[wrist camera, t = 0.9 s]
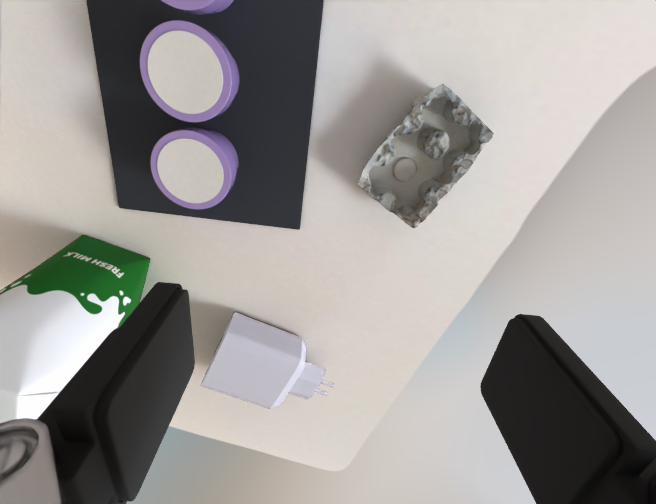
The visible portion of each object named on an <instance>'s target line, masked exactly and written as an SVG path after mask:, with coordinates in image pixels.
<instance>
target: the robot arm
mask: <svg viewBox="0 0 656 504" xmlns="http://www.w3.org/2000/svg"><path fill="white" fill-rule="evenodd" d="M194 363H195V359H194V348H193V337H192V327H191V316H190V305H189V294H188V291H187V290H182V286H181V285H180V284H174V283H163V282H158V283H157V284H155V285H154V287H153V288H152V289H151V290H150V291H149V293H148V294H147V295H146V296H145V298H144V299H143V300H142V301H141V302H140V304H139V305H138V306H137V307H136V308H135V310H134V311H133V312H132V313H131V314H130V316H129V317H128V318H127V319H126V320H125V322H124V323H123V324H122V325H121V326H120V328H116V329H114V330H113V331H112V332H111V333H110V334H109V335H108V336H107V337H106V339H105V340H104V341H103V342H102V343H101V344H100V346H99V347H98V348H97V349H96V350H95V351H94V353H93V354H92V355H91V356H90V357H89V359H88V360H87V361H86V362H85V363H84V364H83V366H82V367H81V368H80V369H79V370H78V371H77V373H76V374H75V375H74V376H73V377H72V379H71V380H70V381H69V382H68V383H67V384H66V386H65V387H64V388H63V389H62V390H61V391H60V393H59V394H58V395H57V396H56V397H55V399H54V400H53V401H52V402H51V403H50V404H49V406H48V407H47V408H46V409H45V410H44V411H43V413H42V414H41V415H40V416H39V417H38V419H30V418H22V419H14V420H10V421H6V422H3V423H0V504H126V502H127V501H133V500H134V499H135V497H136V496H137V494H138V492H139V490H140V488H141V486H142V483H143V481H144V479H145V477H146V474H147V473H148V470H149V468H150V466H151V464H152V462H153V459H154V457H155V455H156V453H157V450H158V448H159V446H160V444H161V442H162V439H163V437H164V435H165V433H166V430H167V428H168V426H169V424H170V422H171V420H172V417H173V415H174V413H175V411H176V408H177V406H178V404H179V402H180V400H181V397H182V395H183V393H184V391H185V389H186V386H187V384H188V382H189V380H190V377H191V375H192V373H193V369H194ZM481 393H482V396H483V397H484V400H485V402H486V404H487V406H488V408H489V410H490V411H491V414H492V416H493V418H494V420H495V422H496V424H497V426H498V428H499V430H500V432H501V434H502V436H503V438H504V440H505V442H506V444H507V446H508V448H509V450H510V452H511V454H512V456H513V458H514V460H515V462H516V464H517V466H518V468H519V470H520V472H521V474H522V476H523V478H524V480H525V482H526V484H527V486H528V488H529V490H530V492H531V494H532V496H533V497H534V500H535V502H536V504H656V441H655V440H654V439H653V438H652V436H651V435H650V434H649V433H648V432H647V431H646V430H645V429H644V428H643V427H642V425H641V424H640V423H639V422H638V421H637V420H636V419H635V418H634V417H633V416H632V415H631V414H630V413H629V412H628V410H627V409H626V408H625V407H624V406H623V405H622V404H621V403H620V402H619V400H617V398H616V397H615V396H614V395H613V394H612V393H611V392H610V391H609V390H608V389H607V387H606V386H605V385H604V384H603V383H602V382H601V381H600V380H599V379H598V378H597V377H596V375H595V374H594V373H593V372H592V371H591V370H590V369H589V368H588V367H587V366H586V365H585V363H584V362H583V361H582V360H581V359H580V358H579V357H578V356H577V355H576V354H575V353H574V351H572V349H571V348H570V347H569V346H568V345H567V344H566V343H565V342H564V341H563V340H562V338H561V337H560V336H559V335H558V334H557V333H556V332H555V331H554V330H553V329H552V328H551V327H550V325H549V324H548V323H547V322H546V321H545V320H544V319H543V318H542V317H540V316H533V315H522V314H519V315H517V316H515V318H514V319H511V320H510V321H509V322H508V324H507V327H506V329H505V331H504V333H503V335H502V338H501V340H500V342H499V344H498V346H497V349H496V351H495V353H494V355H493V358H492V360H491V362H490V364H489V367H488V369H487V371H486V373H485V375H484V378H483V380H482V382H481Z"/></svg>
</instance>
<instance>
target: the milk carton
mask: <svg viewBox="0 0 656 504" xmlns="http://www.w3.org/2000/svg"><path fill="white" fill-rule="evenodd" d="M149 262H150V258H147V257H145V256H142V255H139V254H136V253H133V252H131V251H128V250H125V249H122V248H119V247H117V246H114V245H111V244H108V243H105V242H103V241H100V240H97V239H94V238H91V237H89V236H86V235H82V236H80V237H79V238H78V239H76V240H75V241H73V242H72V243H70V244H69V245H68V246H66V247H65V248H63V249H62V250H60V251H59V252H57V253H56V254H55V255H53V256H52V257H50V258H49V259H47V260H46V261H45V262H43V263H42V264H40V265H39V266H37V267H36V268H34V269H33V270H31V271H30V272H28V273H27V274H25V275H23V276H22V277H20V278H19V279H17V280H16V281H14V282H13V283H11V284H10V285H8V286H6V287H5V288H3V289H2V290H0V423H3V422H6V421H10V420H14V419H22V418H30V419H38V417H39V416H40V415H41V414H42V413H43V411H44V410H45V409H46V408H47V407H48V406H49V404H50V403H51V402H52V401H53V400H54V399H55V397H56V396H57V395H58V394H59V393H60V391H61V390H62V389H63V388H64V387H65V386H66V384H67V383H68V382H69V381H70V380H71V379H72V377H73V376H74V375H75V374H76V373H77V371H78V370H79V369H80V368H81V367H82V366H83V364H84V363H85V362H86V361H87V360H88V359H89V357H90V356H91V355H92V354H93V353H94V351H95V350H96V349H97V348H98V347H99V346H100V344H101V343H102V342H103V341H104V340H105V339H106V337H107V336H108V335H109V334H110V333H111V332H112V331H113V330H114V329H116V328H120V326H121V325H122V324H123V323H124V322H125V320H126V319H127V318H128V317H129V316H130V314H131V313H132V312H133V311H134V310H135V308H136V307H137V306H138V305H139V304H140V299H141V295H142V291H143V287H144V283H145V279H146V275H147V271H148V267H149Z"/></svg>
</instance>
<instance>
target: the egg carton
mask: <svg viewBox="0 0 656 504" xmlns="http://www.w3.org/2000/svg"><path fill="white" fill-rule="evenodd" d="M412 106H413V109H412V111H411V112H410V113H409V114H408V115H407V116H406V117H405V120H404V122H403V123H402V124H400V125H399V126H398V127H397V128H396V129H395V128H393V129H392V130H391V131H390V132H389V134H388V135H387V137H386V138H387V140H386V141H385V142H384V143H383V144H382V145H381V146H380V147H379V148H378V149H377V150H376V152H375V153H374V155H373V156H372V158H371V159H369V160H368V161H367V162H366V163H365V165H364V166H363V169H364V170H363V172H362V175H361V178H360V182H359V184H358V185H359V186H360V187H361V188H362V189H363V190H365V191H366V192H368V194H370V195H371V196H372V197H373V198H374V199H376V200H377V201H379V202H380V204H381V205H382V206H384V207H385V208H386V209H387V210H389V211H390V212H392V213H394V214H396V215H397V216H398V217H399V218H400V219H402V220H403V221H404V222H405V223H407V224H408V225H409V226H411V227H413V228H415V227H417V226H418V225H419V223H420V222H423V221H424V220H425V219H426V217H427V216H428V215H429V214H430V213H431V212H432V211H433V210H434V209H435V207H436V206H437V205H438V201H439V200H440V199H441V198H442V197H443V196H444V195H446V194H447V193H448V192H449V191H450V190H451V188H452V186H453V185H454V184H455V183H456V182H457V181H458V180H459V179H460V178H461V177H462V176H463V175H464V174H465V173H466V172H467V171H468V169H469V168H470V167H471V165H472V164H473V162H474V161H475V159H476V157H477V155H478V154H479V153H480V151H481V150H482V147H483V145H484V144H485V143H486V142H489V140H490V139H491V138H492V136H493V134H494V133H493V132H492V131H491V130H490V129H489V128H488V127H487V126H486V125H485V124H484V123H483V122H482V121H481V120H480V119H479V118H478V117H477V116H476V115H475V114H474V113H473V112H472V111H471V110H470V109H469V107H468V106H466V104H465V103H464V102H463V101H462V100H461V99H460V98H459V97H458V96H457V95H455V94H454V93H453V92H452V91H451V90H450V89H449V88H448V87H446V86H445V85H444V84H441V85H439V86H438V87H437V88H435V89H434V90H433V91H431V92H430V93H429V94H428V95H427V96H423V95H419V96H418V97H417V98H416V99H415V101H414V102H413V103H412Z"/></svg>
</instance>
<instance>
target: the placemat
mask: <svg viewBox="0 0 656 504" xmlns="http://www.w3.org/2000/svg"><path fill="white" fill-rule="evenodd" d="M87 6H88V13H89V19H90V25H91V32H92V38H93V44H94V51H95V57H96V63H97V70H98V76H99V82H100V89H101V95H102V101H103V108H104V114H105V120H106V127H107V133H108V139H109V146H110V152H111V158H112V165H113V171H114V177H115V184H116V190H117V196H118V203H119V208H124V209H132V210H141V211H149V212H157V213H166V214H174V215H182V216H191V217H199V218H207V219H216V220H224V221H232V222H240V223H249V224H257V225H265V226H274V227H282V228H290V229H300V220H301V211H302V201H303V192H304V182H305V173H306V163H307V153H308V144H309V134H310V125H311V115H312V106H313V96H314V87H315V77H316V67H317V58H318V48H319V39H320V29H321V20H322V10H323V0H234V1H233V2H232V3H231V5H230V6H228V7H227V8H226V9H224V10H223V11H221V12H218V13H213V14H201V15H195V14H189V13H185V12H183V11H180V10H178V9H176V8H174V7H172V6H170V5H168V4H166V3H164V2H163V1H161V0H87ZM172 20H182V21H187V22H191V23H193V24H196V25H198V26H201V27H203V28H205V29H207V30H209V31H210V32H212V33H213V34H214V35H216V36H217V37H218V38H219V39H220V40H221V41H222V42H223V43H224V45H225V46H226V48H227V49H228V51H229V52H230V53H231V55H232V56H233V58H234V60H235V62H236V64H237V67H238V71H239V88H238V91H237V94H236V96H235V98H234V99H233V101H232V103H231V104H230V106H229V107H228V108H227V109H226V111H224V112H223V113H222V114H221V115H219V116H217V117H215V118H212V119H209V120H206V121H202V122H187V121H182V120H179V119H177V118H175V117H173V116H171V115H169V114H168V113H166V112H165V111H164V110H162V109H161V108H160V107H159V106H158V105H157V104H156V103H155V101H154V100H153V99H152V97H151V96H150V94H149V93H148V91H147V89H146V87H145V85H144V82H143V79H142V76H141V70H140V53H141V48H142V45H143V43H144V41H145V39H146V37H147V35H148V34H149V33H150V32H151V31H152V30H153V29H154V28H155V27H157V26H158V25H160V24H162V23H164V22H167V21H172ZM187 127H195V128H201V129H209V130H214V131H216V132H218V133H220V134H222V135H223V136H225V137H226V138H227V139H228V140H229V141H230V142H231V143H232V145H233V146H234V148H235V150H236V153H237V156H238V170H237V173H236V179H235V182H234V185H233V187H232V189H231V190H230V192H229V193H228V194H227V195H226V196H225V198H224V199H223V200H222V201H221V202H219V203H218V204H217V205H215V206H213V207H210V208H206V209H190V208H186V207H183V206H180V205H178V204H176V203H175V202H173V201H172V200H170V199H169V198H168V197H167V196H165V195H164V194H163V192H162V191H161V190H160V189H159V187H158V186H157V184H156V182H155V180H154V178H153V175H152V172H151V164H150V161H151V154H152V151H153V148H154V146H155V145H156V143H157V142H158V141H159V139H160V138H162V137H163V136H164V135H166V134H168V133H170V132H173V131H176V130H179V129H182V128H187Z"/></svg>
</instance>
